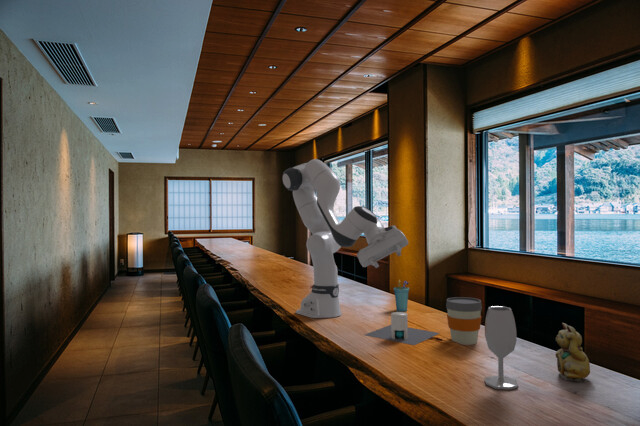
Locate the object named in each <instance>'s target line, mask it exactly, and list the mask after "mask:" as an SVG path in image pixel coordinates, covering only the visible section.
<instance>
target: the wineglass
mask: <svg viewBox="0 0 640 426" xmlns="http://www.w3.org/2000/svg"><path fill="white" fill-rule="evenodd" d="M512 310H513V309H512V308H511V307H507V306H505V305H502V306H501V305H500V306H499V305H494V306H493V305H492V306H488V308H487V310H486V315H485V321H484V322H485V323H484V337H485V340H486V345H487V348H488V350H490V351H491V352H492V353H493V354H494V355H495V356H496V357H497V365H498V366H497V368H498V369H497V375H491V376H487V377H486V376H485V377H484V382H485V385H487V386H488V387H491V388H493V389H494V390H495V389H496V390H507V391H508V390H509V391H510V390H514V389H519V384H518V381H517V380H516V379H514V378H510V376H509V377H508V376H504V359H505V357H507V356H508V355H510V354H511V353H513V352H514V351H515V348H516V344H517V339H518V337H517V327H516V321H515V320H516V319H515V316H514V313H513V311H512Z"/></svg>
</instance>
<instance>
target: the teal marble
mask: <svg viewBox="0 0 640 426" xmlns="http://www.w3.org/2000/svg"><path fill="white" fill-rule="evenodd" d="M403 335H404V333H403V331H398V330H397V331H396V336H397V337H398V338H402V337H403Z"/></svg>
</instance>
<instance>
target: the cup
mask: <svg viewBox="0 0 640 426" xmlns="http://www.w3.org/2000/svg"><path fill="white" fill-rule="evenodd" d="M406 285H409V282H407V280H404V281H403V285H402V283H401V279H398V286H397V287H393V291H394V299H395V300H394V301H395V308H396V312H404V313H406V312H407V311H408V302H409V292H410V287H406Z"/></svg>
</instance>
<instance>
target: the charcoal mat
mask: <svg viewBox="0 0 640 426" xmlns="http://www.w3.org/2000/svg"><path fill="white" fill-rule="evenodd" d="M440 334H441V333H440V332H438V331H437V332H436V331H430V330H426V329H419V328H413V327H409V326H408V339H406V340H405V339H404V336H403V337H402V338H398V337H397V336H395V339H392V338H391V324H389V325H387V326H384V327H381V328H378V329H376V330H373V331H371V332H368V333H365V334H364V336H366V337H371V338H376V339H377V338H378V339H382V340H386V341H390V342H397V343H401V344H406V345H411V346H416V345H418V344H420V343H422V342H425V341H427V340H429V339H431V338H433V337H436V336H437V335H440Z"/></svg>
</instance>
